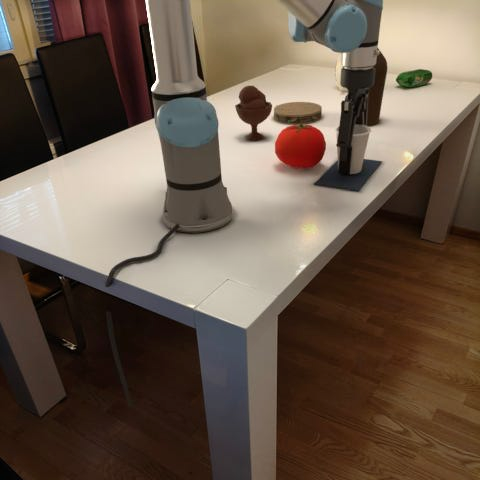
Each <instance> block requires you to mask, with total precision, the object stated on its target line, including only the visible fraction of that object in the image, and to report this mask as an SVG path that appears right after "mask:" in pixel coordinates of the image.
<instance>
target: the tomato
mask: <svg viewBox="0 0 480 480" xmlns="http://www.w3.org/2000/svg"><path fill="white" fill-rule="evenodd" d="M326 150H327V142H326V139H325V135H324V134H323V132H322V131H321V130H320V129H319V128H317V127H315V126H313V125H312V124H299V125H288V126H286V127H285V128H282V129H281V131H280V132H279V134H278V135H277V137H276V140H275V142H274V153H275V155H276V157H277V159H278V160H279V161H280V162H282V164H284V165H286V166H289V167H290V168H293V169H306V170H309V169H311V168H314V167H316V166H318V164H320V163H321V162H322V161H323V158H324V157H325V153H326Z"/></svg>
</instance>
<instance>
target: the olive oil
mask: <svg viewBox="0 0 480 480" xmlns="http://www.w3.org/2000/svg"><path fill="white" fill-rule="evenodd" d="M377 50H379V51H380V54H379V55H377V59H376V64H375V65H374V66H373V67H375V69H376V71H375V80H374V85H373V86H371V87H369V88H370V92H369V98H368V117H367V126H368V127H369V126H375V125H377V124H379V122H380V117H381V110H382V103H383V98H384V91H385V85H386V80H387V76H388V75H387V73H388V62H387V59H386V57H385V56H384V54H383V52H382V51H381V50H380V48H379V47H378V48H377Z"/></svg>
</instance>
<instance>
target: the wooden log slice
mask: <svg viewBox="0 0 480 480" xmlns="http://www.w3.org/2000/svg"><path fill="white" fill-rule="evenodd" d="M322 107H323V106H322V105H320V104H319V103H315V102H310V101H292V102H285V103H280V104H278V105H276V106H274V107H273V120H274V121H275V122H277V123H279V124H283V125H290V126H292V125H299V124H303V125H310V124H313V123H317V122H318V121H320V120H321V119H322V111H323V110H322V109H323V108H322Z"/></svg>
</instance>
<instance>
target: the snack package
mask: <svg viewBox="0 0 480 480" xmlns="http://www.w3.org/2000/svg"><path fill="white" fill-rule="evenodd" d="M432 79H433V72H432V70H429V69H423V68H419V69H414V70H407V71H403V72H400V73H399V74H398V75H397V76H396V78H395V82H396V83H397V84H398V86H400V87H406V88H416V87H421V86H424V85H427V84H429V83H430V81H431V80H432Z"/></svg>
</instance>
